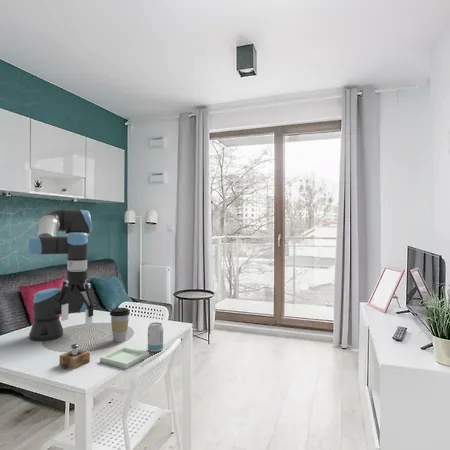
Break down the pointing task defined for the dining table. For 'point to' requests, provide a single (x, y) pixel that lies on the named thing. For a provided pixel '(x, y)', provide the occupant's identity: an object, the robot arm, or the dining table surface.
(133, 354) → the tray
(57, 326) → the robot arm
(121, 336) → the coffee cup
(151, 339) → the beverage can
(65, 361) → the brown rectangular frame
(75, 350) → the grey round-topped rod
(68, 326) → the dining table surface
